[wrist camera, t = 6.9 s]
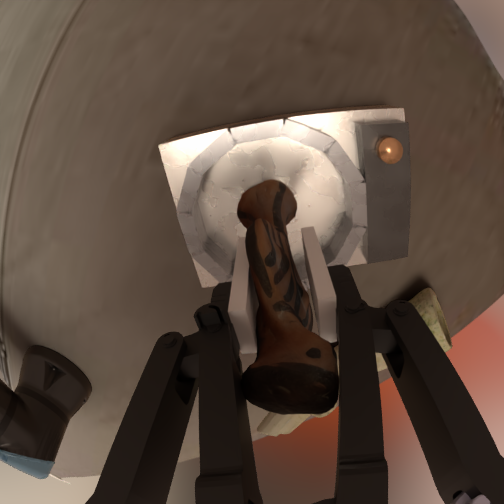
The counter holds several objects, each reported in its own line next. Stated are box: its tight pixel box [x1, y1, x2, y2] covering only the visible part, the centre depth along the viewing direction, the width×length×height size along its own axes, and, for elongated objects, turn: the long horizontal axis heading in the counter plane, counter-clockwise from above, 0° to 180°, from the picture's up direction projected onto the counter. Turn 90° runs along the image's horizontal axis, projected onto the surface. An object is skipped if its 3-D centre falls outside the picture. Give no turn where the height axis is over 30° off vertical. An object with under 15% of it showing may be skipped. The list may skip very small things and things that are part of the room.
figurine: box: [237, 180, 339, 415], centre depth 17 cm, size 7×5×18 cm
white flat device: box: [158, 105, 411, 291], centre depth 25 cm, size 20×14×6 cm
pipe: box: [257, 288, 452, 436], centre depth 35 cm, size 28×8×10 cm, turn 135°
